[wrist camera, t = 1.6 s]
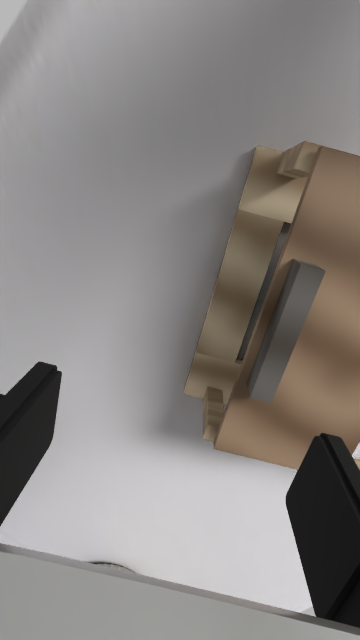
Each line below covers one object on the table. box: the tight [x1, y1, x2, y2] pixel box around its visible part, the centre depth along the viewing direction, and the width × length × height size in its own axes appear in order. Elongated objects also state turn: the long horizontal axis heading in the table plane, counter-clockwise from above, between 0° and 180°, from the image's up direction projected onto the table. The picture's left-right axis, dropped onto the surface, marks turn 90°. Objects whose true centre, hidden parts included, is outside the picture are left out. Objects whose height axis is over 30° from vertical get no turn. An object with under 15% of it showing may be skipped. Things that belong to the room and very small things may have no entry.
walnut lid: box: [214, 146, 360, 470], centre depth 24 cm, size 24×11×3 cm, turn 166°
